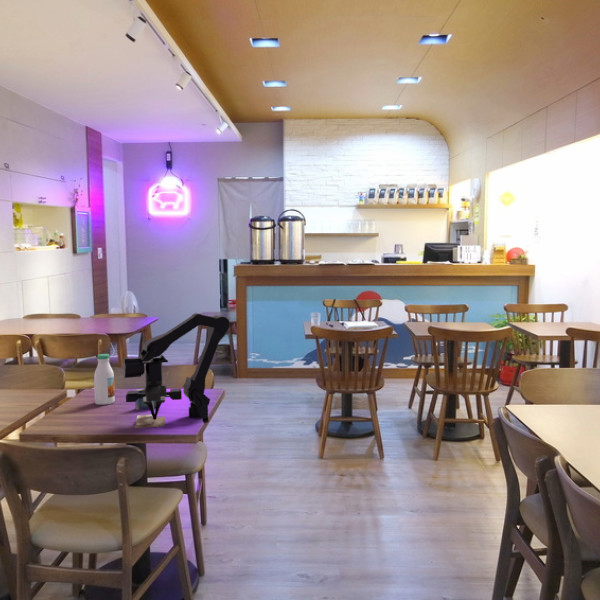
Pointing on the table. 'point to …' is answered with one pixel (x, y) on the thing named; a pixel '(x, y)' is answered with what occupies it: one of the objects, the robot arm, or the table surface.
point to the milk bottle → (104, 381)
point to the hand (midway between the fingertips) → (154, 419)
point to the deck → (153, 423)
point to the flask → (140, 404)
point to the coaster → (144, 419)
